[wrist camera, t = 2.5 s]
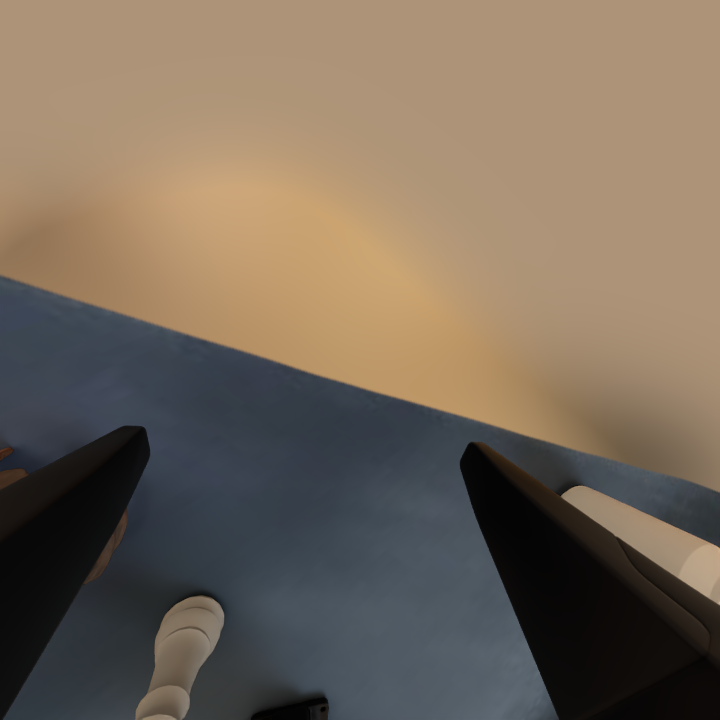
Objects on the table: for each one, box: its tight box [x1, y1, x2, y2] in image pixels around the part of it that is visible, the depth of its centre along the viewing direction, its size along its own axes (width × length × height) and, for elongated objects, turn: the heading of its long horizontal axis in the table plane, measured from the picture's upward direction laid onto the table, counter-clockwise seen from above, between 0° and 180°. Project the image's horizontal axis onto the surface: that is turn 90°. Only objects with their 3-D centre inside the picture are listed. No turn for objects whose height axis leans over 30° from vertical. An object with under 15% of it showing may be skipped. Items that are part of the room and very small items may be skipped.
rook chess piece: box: [135, 595, 224, 720], centre depth 18 cm, size 4×4×8 cm
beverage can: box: [561, 486, 720, 605], centre depth 25 cm, size 6×6×12 cm
